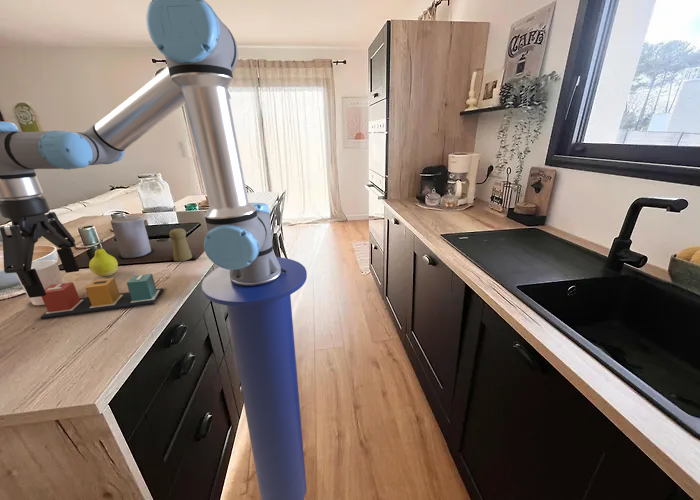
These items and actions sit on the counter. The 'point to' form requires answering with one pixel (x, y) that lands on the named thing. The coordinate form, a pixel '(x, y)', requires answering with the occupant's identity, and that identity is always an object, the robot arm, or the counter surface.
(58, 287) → the red block
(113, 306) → the word mat
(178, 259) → the cork
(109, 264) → the fruit
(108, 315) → the counter surface
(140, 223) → the pillar candle
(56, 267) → the white cup
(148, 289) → the teal slotted block
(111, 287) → the slotted yellow cube
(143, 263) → the counter surface
